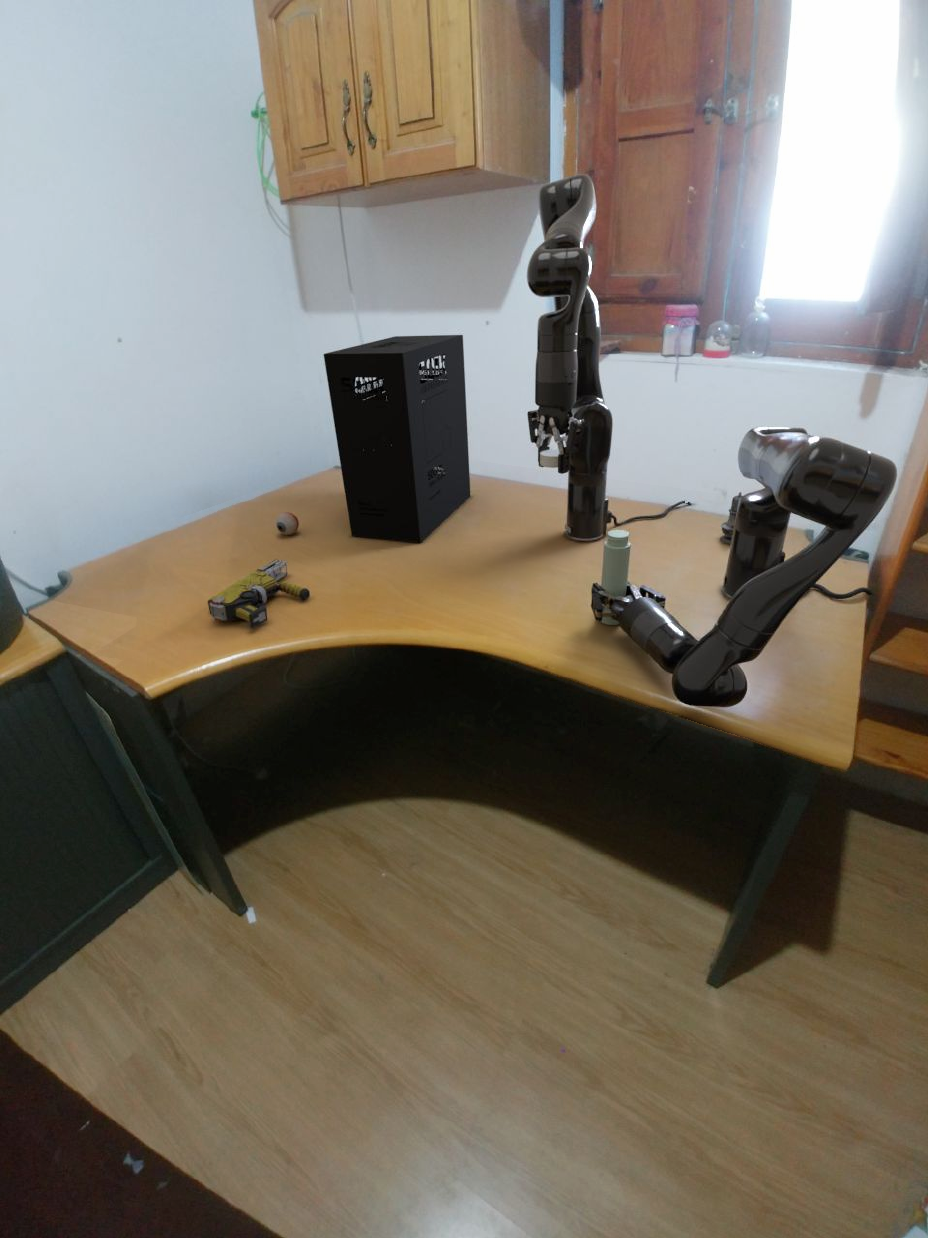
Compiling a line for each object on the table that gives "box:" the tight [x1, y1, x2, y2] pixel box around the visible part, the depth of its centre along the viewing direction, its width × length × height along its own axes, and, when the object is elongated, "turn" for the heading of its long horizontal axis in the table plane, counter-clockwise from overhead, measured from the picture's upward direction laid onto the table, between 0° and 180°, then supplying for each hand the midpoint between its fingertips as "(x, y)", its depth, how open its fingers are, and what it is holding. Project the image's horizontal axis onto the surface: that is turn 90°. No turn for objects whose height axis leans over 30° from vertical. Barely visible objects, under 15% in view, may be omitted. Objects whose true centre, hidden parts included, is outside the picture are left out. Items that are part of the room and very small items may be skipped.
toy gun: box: [207, 558, 311, 629], centre depth 130 cm, size 5×24×15 cm
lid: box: [540, 448, 560, 469], centre depth 117 cm, size 5×5×2 cm
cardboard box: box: [323, 334, 471, 544], centre depth 162 cm, size 38×20×45 cm, turn 159°
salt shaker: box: [719, 491, 743, 545], centre depth 143 cm, size 6×6×12 cm
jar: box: [600, 529, 632, 626], centre depth 113 cm, size 5×5×18 cm
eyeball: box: [275, 511, 300, 536], centre depth 163 cm, size 6×6×6 cm
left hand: (553, 469), depth 118 cm, fingers closed on lid, 5 cm apart
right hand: (607, 585), depth 116 cm, fingers closed on jar, 4 cm apart
